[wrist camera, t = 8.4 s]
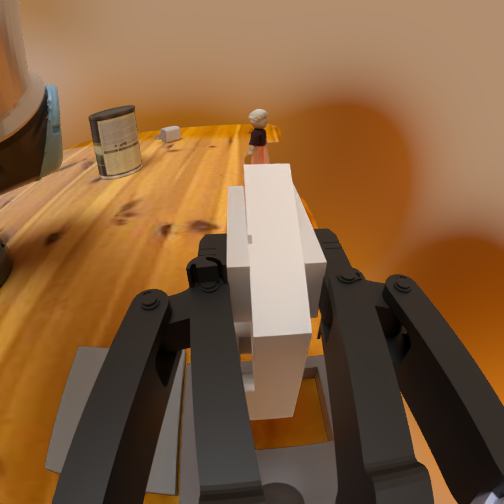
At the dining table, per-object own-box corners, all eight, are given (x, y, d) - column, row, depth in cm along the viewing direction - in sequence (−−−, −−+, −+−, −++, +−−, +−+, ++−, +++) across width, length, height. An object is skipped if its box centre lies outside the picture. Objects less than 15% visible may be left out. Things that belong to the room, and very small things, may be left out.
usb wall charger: (180, 140, 81) (179, 126, 79) (158, 145, 78) (157, 132, 75) (175, 138, 84) (173, 125, 81) (153, 143, 80) (151, 130, 78)
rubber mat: (81, 350, 23) (78, 346, 23) (186, 353, 24) (184, 349, 23) (48, 470, 14) (44, 467, 13) (177, 495, 14) (174, 494, 14)
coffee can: (90, 180, 59) (78, 119, 51) (116, 163, 67) (108, 108, 59) (126, 179, 57) (115, 113, 49) (151, 162, 65) (143, 103, 57)
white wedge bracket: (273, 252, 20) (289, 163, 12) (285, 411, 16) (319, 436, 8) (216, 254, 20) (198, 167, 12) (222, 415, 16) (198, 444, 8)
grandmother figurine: (268, 186, 51) (267, 112, 44) (245, 185, 52) (243, 112, 44) (273, 171, 57) (273, 106, 50) (253, 170, 58) (251, 105, 50)
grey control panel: (190, 374, 22) (186, 360, 21) (331, 364, 23) (335, 350, 21) (188, 621, 6) (181, 628, 5) (379, 601, 6) (390, 605, 5)
